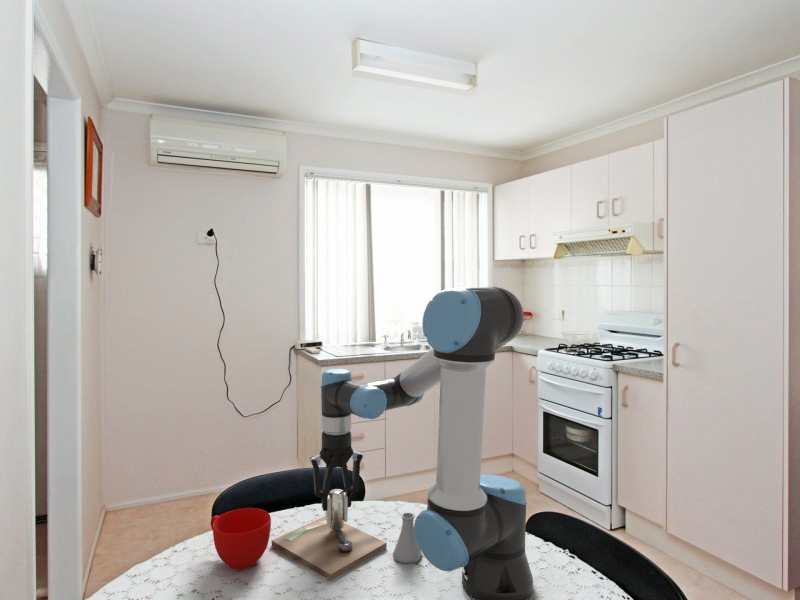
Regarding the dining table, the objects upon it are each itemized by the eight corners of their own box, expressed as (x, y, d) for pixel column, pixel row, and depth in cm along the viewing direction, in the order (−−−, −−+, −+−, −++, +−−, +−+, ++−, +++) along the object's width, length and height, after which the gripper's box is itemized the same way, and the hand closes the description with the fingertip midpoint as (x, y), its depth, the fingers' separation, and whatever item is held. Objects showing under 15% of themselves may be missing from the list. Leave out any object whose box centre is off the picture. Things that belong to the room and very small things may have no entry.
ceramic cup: (233, 538, 132) (233, 499, 132) (282, 557, 123) (282, 516, 123) (189, 562, 121) (189, 520, 120) (240, 585, 112) (240, 539, 112)
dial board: (386, 548, 127) (386, 542, 127) (330, 581, 114) (330, 573, 114) (327, 520, 142) (327, 514, 142) (271, 546, 128) (271, 539, 128)
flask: (420, 566, 120) (420, 523, 119) (389, 562, 121) (389, 520, 121) (425, 549, 127) (425, 509, 126) (396, 546, 128) (396, 507, 128)
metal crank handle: (354, 550, 123) (354, 510, 122) (339, 553, 122) (339, 512, 121) (339, 520, 138) (339, 484, 137) (326, 522, 137) (326, 486, 136)
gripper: (364, 423, 138) (364, 509, 139) (301, 429, 133) (301, 519, 134) (372, 431, 131) (372, 522, 132) (305, 438, 126) (306, 532, 127)
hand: (336, 520), depth 133 cm, fingers closed on metal crank handle, 4 cm apart
